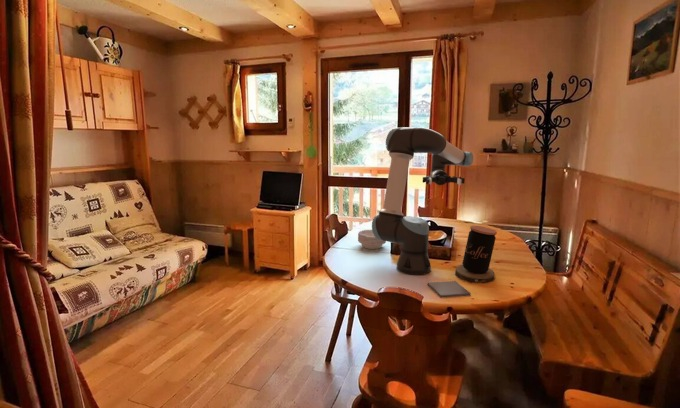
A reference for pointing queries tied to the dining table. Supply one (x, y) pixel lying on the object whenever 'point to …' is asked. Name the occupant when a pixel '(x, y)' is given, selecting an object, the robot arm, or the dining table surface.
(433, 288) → the slate coaster
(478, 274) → the grey round disc
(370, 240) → the paper bowls
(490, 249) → the coffee jar
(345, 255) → the dining table surface
